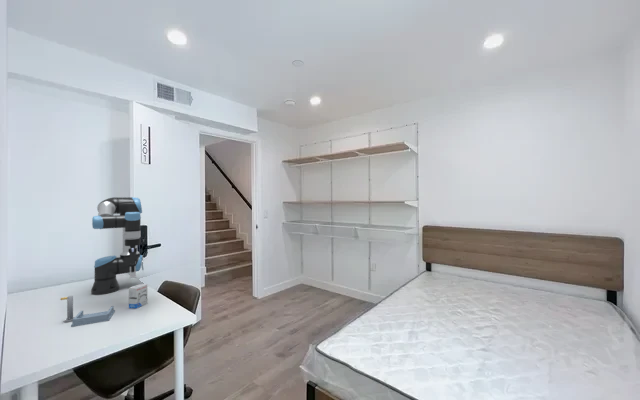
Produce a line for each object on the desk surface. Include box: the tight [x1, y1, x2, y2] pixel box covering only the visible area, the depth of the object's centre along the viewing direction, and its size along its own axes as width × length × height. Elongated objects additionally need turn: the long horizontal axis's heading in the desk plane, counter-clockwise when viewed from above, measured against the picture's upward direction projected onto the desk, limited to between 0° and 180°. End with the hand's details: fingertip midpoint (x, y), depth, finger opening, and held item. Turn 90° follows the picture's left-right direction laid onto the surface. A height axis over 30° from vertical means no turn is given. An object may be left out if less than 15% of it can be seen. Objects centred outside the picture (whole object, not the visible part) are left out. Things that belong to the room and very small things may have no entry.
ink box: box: [128, 283, 148, 309], centre depth 156 cm, size 9×5×12 cm, turn 168°
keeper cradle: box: [60, 295, 116, 328], centre depth 138 cm, size 13×22×12 cm, turn 117°
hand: (132, 275), depth 154 cm, fingers open, 13 cm apart
